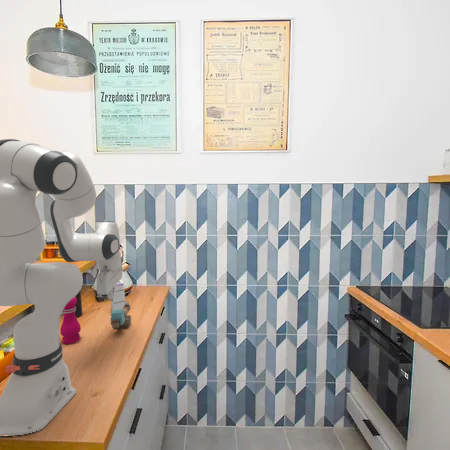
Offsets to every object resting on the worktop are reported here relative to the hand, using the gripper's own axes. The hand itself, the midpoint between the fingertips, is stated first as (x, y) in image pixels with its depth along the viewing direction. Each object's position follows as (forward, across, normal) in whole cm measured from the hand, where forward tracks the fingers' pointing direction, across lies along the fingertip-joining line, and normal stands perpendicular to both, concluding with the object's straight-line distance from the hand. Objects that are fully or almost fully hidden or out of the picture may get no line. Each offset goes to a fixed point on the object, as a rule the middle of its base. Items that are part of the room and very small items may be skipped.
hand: (111, 297), depth 122 cm
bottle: (+18, +26, +26) cm, 41 cm away
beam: (+18, +12, 0) cm, 22 cm away
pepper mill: (+18, +1, +17) cm, 25 cm away
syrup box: (+18, +31, +7) cm, 37 cm away
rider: (+13, +6, 0) cm, 15 cm away
